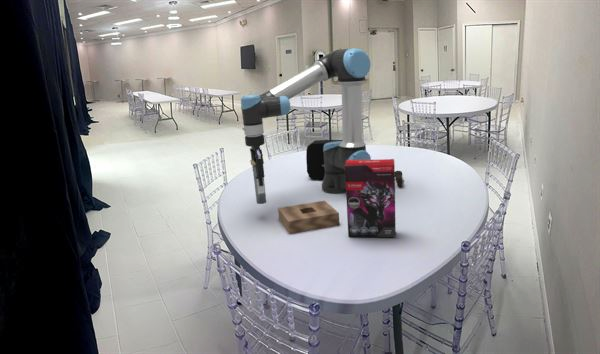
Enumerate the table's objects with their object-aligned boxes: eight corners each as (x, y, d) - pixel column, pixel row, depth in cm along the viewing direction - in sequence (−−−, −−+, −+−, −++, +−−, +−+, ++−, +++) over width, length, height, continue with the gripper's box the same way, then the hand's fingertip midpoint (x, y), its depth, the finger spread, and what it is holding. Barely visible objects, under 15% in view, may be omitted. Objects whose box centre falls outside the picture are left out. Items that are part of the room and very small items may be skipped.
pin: (266, 199, 184) (261, 157, 178) (269, 203, 179) (264, 160, 174) (254, 201, 182) (249, 159, 177) (256, 205, 177) (251, 162, 172)
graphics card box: (347, 237, 158) (344, 164, 150) (348, 230, 164) (345, 159, 157) (395, 238, 154) (395, 163, 147) (395, 230, 161) (395, 158, 153)
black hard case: (307, 180, 230) (304, 143, 225) (313, 174, 241) (311, 138, 236) (364, 182, 221) (363, 143, 215) (368, 175, 232) (368, 138, 226)
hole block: (325, 211, 184) (324, 200, 183) (339, 225, 169) (338, 212, 168) (278, 219, 179) (278, 207, 178) (289, 233, 164) (288, 221, 163)
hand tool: (394, 177, 226) (394, 169, 225) (402, 177, 225) (402, 169, 224) (394, 189, 208) (394, 180, 207) (403, 189, 207) (403, 179, 206)
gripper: (241, 132, 179) (247, 187, 186) (248, 139, 164) (255, 199, 170) (259, 130, 181) (264, 184, 188) (268, 137, 166) (274, 196, 172)
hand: (260, 191), depth 179 cm, fingers closed on pin, 4 cm apart
